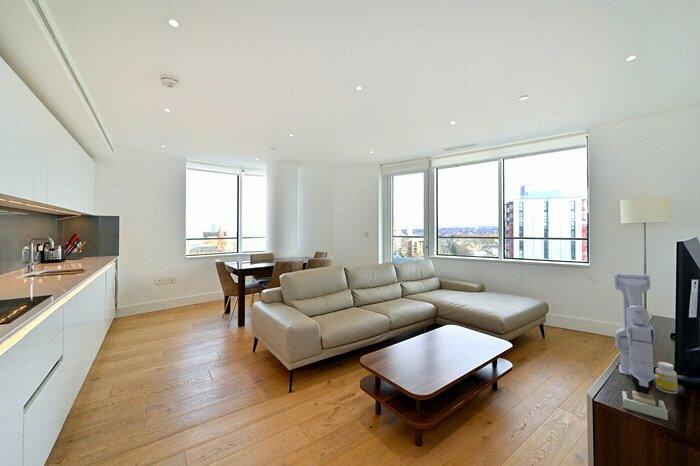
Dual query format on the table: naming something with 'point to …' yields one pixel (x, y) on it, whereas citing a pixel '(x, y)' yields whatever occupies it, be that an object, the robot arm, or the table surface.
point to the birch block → (643, 398)
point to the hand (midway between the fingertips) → (642, 398)
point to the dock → (645, 407)
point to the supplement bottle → (666, 378)
